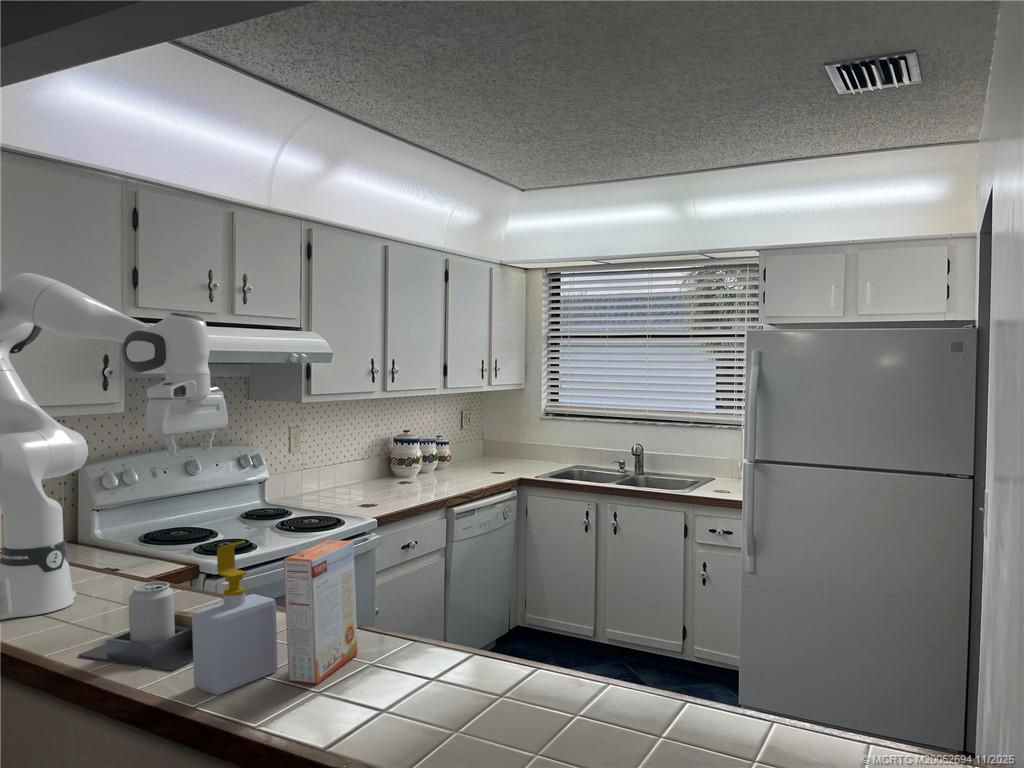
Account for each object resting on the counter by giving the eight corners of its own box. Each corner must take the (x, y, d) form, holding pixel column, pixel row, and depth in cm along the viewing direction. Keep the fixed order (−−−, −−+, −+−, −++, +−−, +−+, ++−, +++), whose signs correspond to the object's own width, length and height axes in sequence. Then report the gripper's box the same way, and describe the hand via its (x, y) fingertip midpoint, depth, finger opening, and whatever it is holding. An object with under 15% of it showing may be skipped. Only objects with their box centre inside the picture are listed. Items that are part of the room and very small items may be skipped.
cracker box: (329, 651, 144) (326, 538, 143) (358, 655, 142) (356, 540, 142) (285, 682, 131) (281, 557, 130) (316, 686, 129) (313, 559, 128)
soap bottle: (216, 697, 125) (212, 551, 124) (192, 687, 129) (188, 546, 128) (279, 671, 135) (275, 536, 134) (255, 663, 139) (251, 532, 138)
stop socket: (78, 656, 144) (77, 638, 144) (131, 635, 155) (131, 617, 155) (172, 672, 136) (171, 652, 136) (221, 647, 147) (220, 629, 147)
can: (165, 656, 142) (163, 590, 142) (123, 657, 142) (121, 591, 141) (181, 641, 150) (179, 578, 149) (141, 642, 149) (139, 580, 149)
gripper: (211, 386, 180) (213, 446, 181) (140, 390, 161) (142, 457, 161) (233, 386, 178) (235, 447, 178) (163, 390, 159) (166, 458, 159)
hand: (190, 452), depth 170 cm, fingers open, 8 cm apart
